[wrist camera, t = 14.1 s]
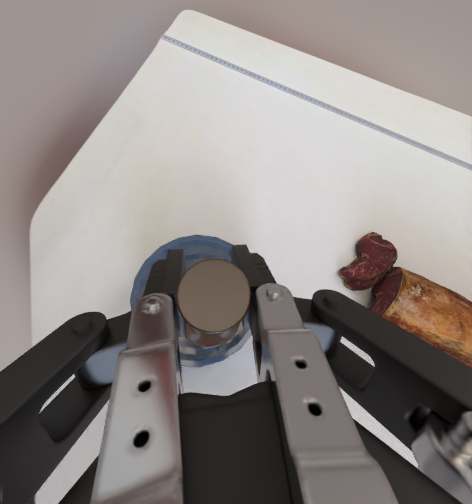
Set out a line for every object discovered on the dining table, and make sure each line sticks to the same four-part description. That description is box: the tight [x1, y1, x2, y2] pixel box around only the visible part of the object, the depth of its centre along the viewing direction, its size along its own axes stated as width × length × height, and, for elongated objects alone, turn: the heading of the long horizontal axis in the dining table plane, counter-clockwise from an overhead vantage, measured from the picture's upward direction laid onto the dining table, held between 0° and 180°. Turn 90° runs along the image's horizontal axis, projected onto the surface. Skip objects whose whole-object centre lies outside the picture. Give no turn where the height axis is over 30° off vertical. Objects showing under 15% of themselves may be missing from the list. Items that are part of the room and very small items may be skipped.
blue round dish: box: [130, 235, 252, 367], centre depth 32 cm, size 16×16×6 cm
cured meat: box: [339, 232, 472, 368], centre depth 36 cm, size 18×25×7 cm
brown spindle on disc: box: [176, 258, 251, 347], centre depth 15 cm, size 6×6×15 cm
